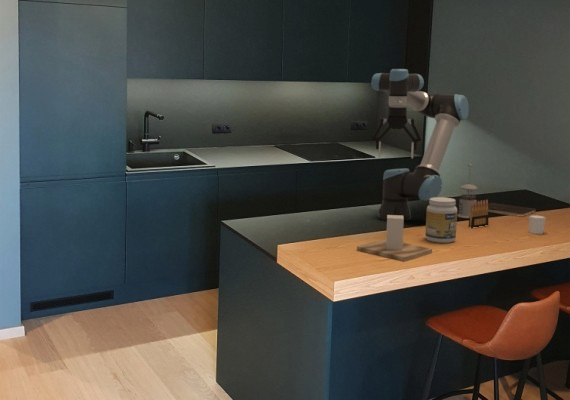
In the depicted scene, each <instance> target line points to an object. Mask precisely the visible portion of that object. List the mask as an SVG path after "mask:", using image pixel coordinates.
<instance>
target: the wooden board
mask: <svg viewBox="0 0 570 400" xmlns="http://www.w3.org/2000/svg"><path fill="white" fill-rule="evenodd" d="M356 251H357V252H363V253H366V254H371V255H375V256H380V257H384V258H388V259H392V260H396V261H401V262H408V261H410V260H413V259H416V258H420V257H423V256H425V255H426V256H427V255H430V254H433V248H430V247H426V246H425V247H424V246H419V245H416V244H411V243H405V242H403V246H402V250H391V249H386V238H383V239H380V240H376V241H372V242H368V243H365V244H362V245H361V244H360V245H357V246H356Z"/></svg>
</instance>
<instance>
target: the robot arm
mask: <svg viewBox="0 0 570 400" xmlns="http://www.w3.org/2000/svg"><path fill="white" fill-rule="evenodd" d="M370 83H371V88H372V89H373V90H374V91H378V92H385V93H387V94H388V106H389V107H388V115H387V118H385V117H384V118H383V117H381V118H380V120H379V124H378V126H377V128H376V130H375V132H374V134H373V135H372V137H371V139H372V141H375V142H376V143H375V145H376V146H375V148H376V149H375V150H378V158H381V151H382V150H381V146H382V141H381V139H383V137H384V136H385V135H386V134H387V133H388V132H389V131H390V129H393V130H402V129H403V130H404V132H405V133H406V134H407V135H408V136H409V138H410V139H411V140H412V141H411V150H410V151H411V153H410V157H411V159H414V151H417V143H419V142H421V141H422V138H421V136H420V134H419V132H418V129H417V128H416V125H415V120H414V118H407V116H408V115H407V114H408V113H407V111H408V110H407V109H408V108H407V106H410V108H411V109H412V111H415V112H416V113H419V114H421V115H423V116H425V117H427V118H430V119H431V118H432V119H434V120H435V125H434V128H433V130H432V132H431V136H430V138H429V141H428V144H427V147H426V150H425V151H424V154H423V156H422V159H421V162H420V164H419V165H417V166H415V168H414V170H413V172H410V169H409V168H393V169H386V170H385V171H384V172H383V177H382V178H383V179H382V202H381V205H380V207H379V210H378V213H377V218H378V219H380V220H382V221H386V222H387V215H402V216H403V218H404V222H407V221H410V220H411V219H412V213H411V209H410V205H409V199H413V200H417V201H418V200H419V201H428V202H429V201H430V198H434V197H439V196H440V193H441V191H442V188H443V186H442V185H443V181H442V180H443V179H442V177H441V173H440V172H439V171H440V168H441V165H442V163H443V159H444V158H445V154H446V152H447V148H448V146H449V144H450V140H451V138H452V136H453V132H454V130H455V128H457V127H459V125H460V123H461V121H465V120H466V119H468V117H469V111H470V109H469V108H470V107H469V106H470V105H469V102H468V99H467V97H466V96H465V95H463V94H457V93H455V94H453V93H452V94H450V93H449V94H448V93H445V94H444V93H427V92H425V91H421V90H423V87H424V85H425V81H424V78H423V76H422V75H421V74H419V73H409V70H408V69H406V68H392V69H391V70H390V72H388V73H387V72H386V73H385V72H379V73H375V74H373V76H372V77H371V82H370ZM386 123H387V124H388V125H387V127H386V128H385V129H384V130H383V131H382V132H381V133H380V135H378V134H379V132H380V130H381V129H382V127H383V125H384V124H386ZM407 123H409V125H411V127H412V130H413V132H414V134H415V136H416V138H415V136H414V135H413V134H412V133H411V131H410V130H409V129H408V128H407V127H406V124H407ZM377 136H378V137H377Z"/></svg>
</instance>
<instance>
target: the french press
mask: <svg viewBox="0 0 570 400" xmlns="http://www.w3.org/2000/svg"><path fill="white" fill-rule="evenodd" d="M467 167H473V164H472V163H468V165H467ZM470 173H471V170H469V175H468V180H470V175H471V174H470ZM460 189H462V190H466V191H467V194H460V198H459V200H458V201H459V203H458V205H459V206H458V213H457V218H463V219H469V216H470V211H471V205H472V202H474V203H475V201H476V202H478V201H477V196H476V195H475V194H474V195H473V194H470V193H473V191H474V190H478V187H477V186H476V185H474V184H471V183H465V184H463V185H461V186H460Z"/></svg>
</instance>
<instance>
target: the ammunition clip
mask: <svg viewBox="0 0 570 400" xmlns="http://www.w3.org/2000/svg"><path fill="white" fill-rule="evenodd" d="M488 204H489V201H488V199H486V200H485V199H484V200H482V199H481V200H478V201H477V202H476V201H475V203H474V202H472V205H471V211H470V216H469V218H468V228H469V227H471V228H470V229H474V228H473V227H478V228H480V227H479V226H484V227H486V226H485V225H488V226H489V216H490V215H489V212H488Z"/></svg>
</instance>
